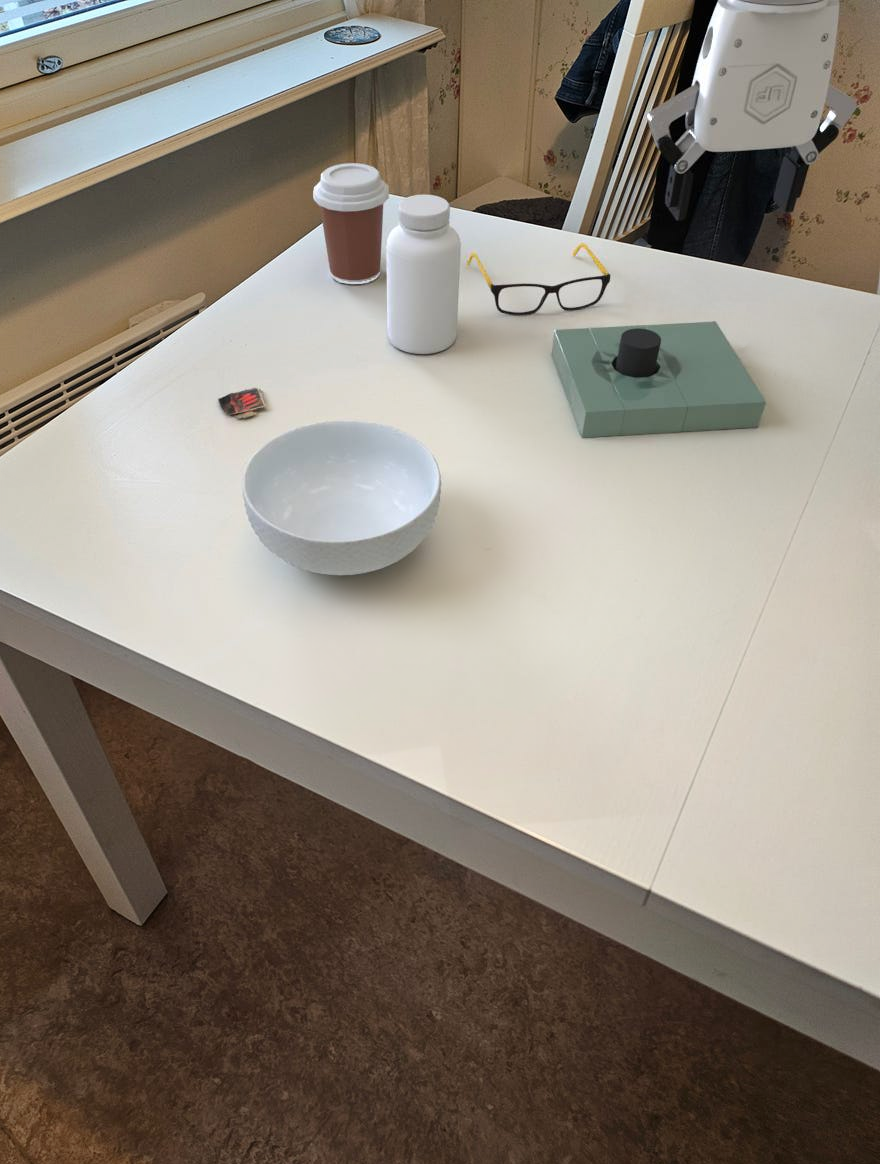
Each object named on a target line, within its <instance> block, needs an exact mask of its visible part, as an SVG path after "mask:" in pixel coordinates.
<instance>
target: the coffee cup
mask: <svg viewBox="0 0 880 1164" xmlns="http://www.w3.org/2000/svg"><path fill="white" fill-rule="evenodd" d="M389 187H390V186H389V184H388V183H386V182H385V181H384V179H382V178H381V173H380V171H378V169H376V167H374V166H371V165H368V164H365V163H357V162H353V163H352V162H347V163H341V164H335V165H333V166H330V167H328V168H326V169H325V170H323V171H322V173H321V174H320V181H318V183H317V184H316V185H314V187H313V192H312V195H313V200H314V202H315V203H316V204H317V205H318V206H319V209H320V216H321V221H322V228H323V235H324V240H325V247H326V253H327V258H328V259H327V260H328V266H329V273H330V272H331V274H332V275H333V277H335V278H338V279H340V280H342V281H347V282H362V281H367V280H371V279H372V278H375V277H376V276H377V275H378V274H379V272H380V273H381V265H382V264H381V263H382V241H383V223H384V222H383V221H384V220H383V219H384V204H385V203H386V201H388V200H389V198H390V189H389Z"/></svg>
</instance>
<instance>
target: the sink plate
mask: <svg viewBox="0 0 880 1164" xmlns="http://www.w3.org/2000/svg"><path fill="white" fill-rule="evenodd" d="M636 328H641V329H648V330H651V331H653V332H655V333H657V334H658V335H659V336H660V337H661V344H660V349H659V354H658V358H657V363H656V367H655V372H654V375H652V376H650V377H642V378H634V377H630V376H625V375H622V374H621V373H619V372H617V371H616V370H615V368H616V362H617V357H618V351H619V346H620V340H621V335H622V334H623V333H624V332H625V331H627V330H630V329H636ZM552 339H553V340H552V347H551V357H552V360H553V362H554V365H555V368H556V370H557V373H558V376H559V379H560V382H561V385H562V388H563V390H564V393H565V396H566V398H567V401H568V405H569V406H570V409H571V413H572V415H573V417H574V420H575V423H576V426H577V429H578V432H579V434H580V436H581V439H583V438H601V437H616V436H617V437H618V436H634V435H635V436H636V435H652V434H671V433H682V432H698V431H699V432H702V431H719V430H735V429H753V428H759V427H760V423H761V420H762V417H763V415H764V411H765V408H766V405H767V400H766V398H765V397H764V396H763V394H762V393H761V391H760V389H759V387H758V386H757V385H756V383H755V381H754V380H753V378H752V376H751V375H750V373H749V372H748V370H747V368H746V367H745V365H744V364H743V362H742V361H741V359H740V358H739V356H738V354H737V353H736V351H735V349H734V348H733V346H732V345H731V343H730V341H729V339H727V337H726V336H725V334H724V332H723V331H722V329H721V328H720V326H719V324H718V322H717V321H699V322H679V323H677V322H676V323H659V324H638V325H619V326H617V325H616V326H603V327H602V326H600V327H584V328H583V327H582V328H565V329H564V328H563V329H562V328H561V329H554V331H553V337H552Z"/></svg>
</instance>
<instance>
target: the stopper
mask: <svg viewBox="0 0 880 1164" xmlns="http://www.w3.org/2000/svg"><path fill="white" fill-rule="evenodd" d="M660 344H661V337H660V336H659V335H658V334H657V333H655V332H653V331H651V330H648V329H641V328H636V329H630V330H627V331H625V332H624V333H623V334H622V335H621V340H620V346H619V351H618V357H617V362H616V368H615V370H616V371H617V372H619V373H621V374H622V375H625V376H630V377H634V378H642V377H650V376H652V375H654V372H655V367H656V363H657V358H658V354H659V349H660Z"/></svg>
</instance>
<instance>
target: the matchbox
mask: <svg viewBox="0 0 880 1164" xmlns="http://www.w3.org/2000/svg"><path fill="white" fill-rule="evenodd" d="M263 396H264V391H263V390H261V388H258V387H252V388H249V389H247V388H245V389H244V390H240V391H236V392H231V393H228V394H226V395H224V396H221V397H219V398H217V400H218V405H219V407H220V409H221V410H222V411H223V412H224V413H225V414H226V415H227V416H230V415H234V417H235V418H237V419H238V420H241V419H243V420H245V419H247V418H250V417H253V416H256V415H257V414H258V411H256V410H260V408H261V409H262V408H265V407H266V403H265V399H264V398H263Z"/></svg>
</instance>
